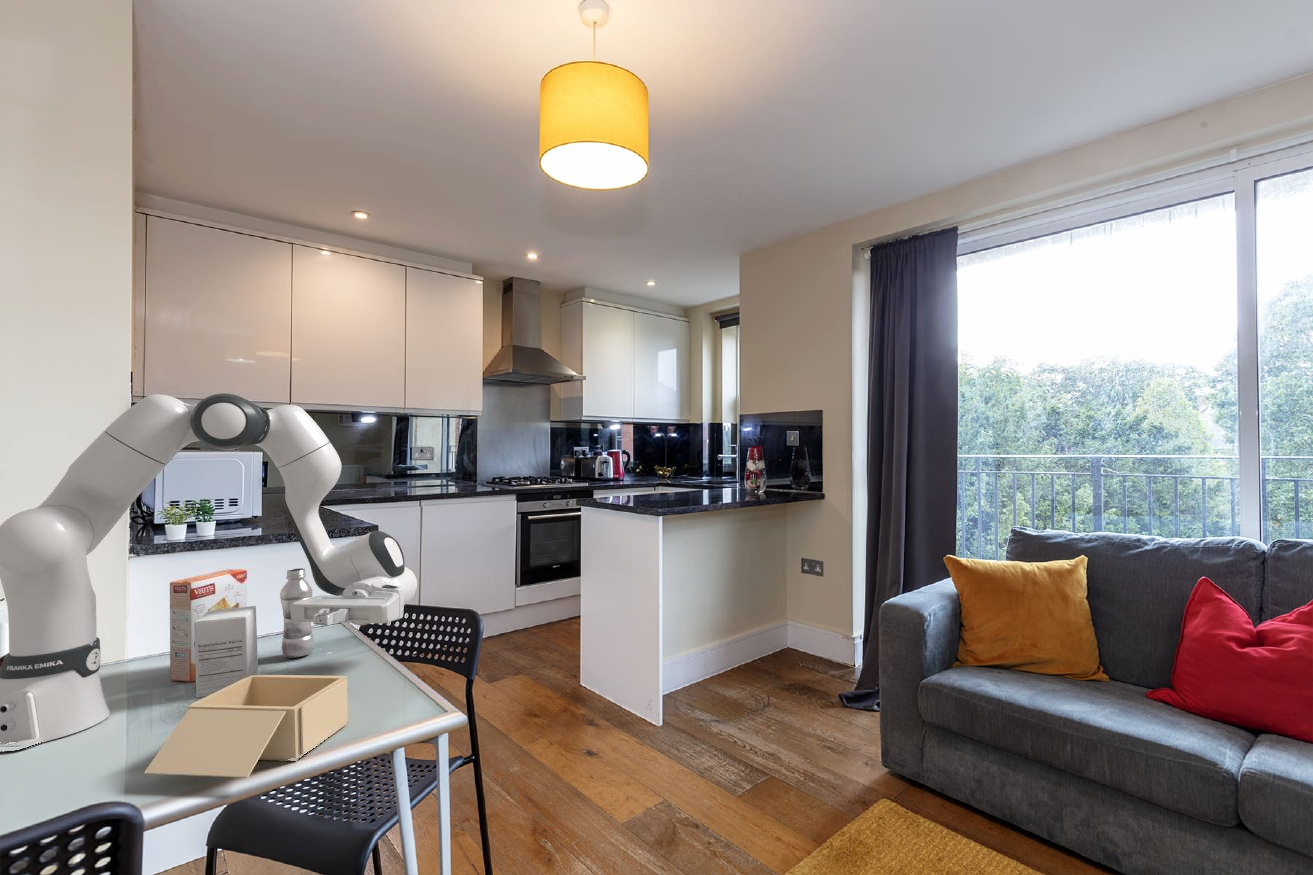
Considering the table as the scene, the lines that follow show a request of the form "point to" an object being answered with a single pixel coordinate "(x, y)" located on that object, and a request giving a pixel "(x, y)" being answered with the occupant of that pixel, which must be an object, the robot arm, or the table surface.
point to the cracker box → (199, 613)
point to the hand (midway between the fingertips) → (320, 620)
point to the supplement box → (225, 648)
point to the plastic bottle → (294, 633)
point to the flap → (216, 743)
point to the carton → (288, 708)
